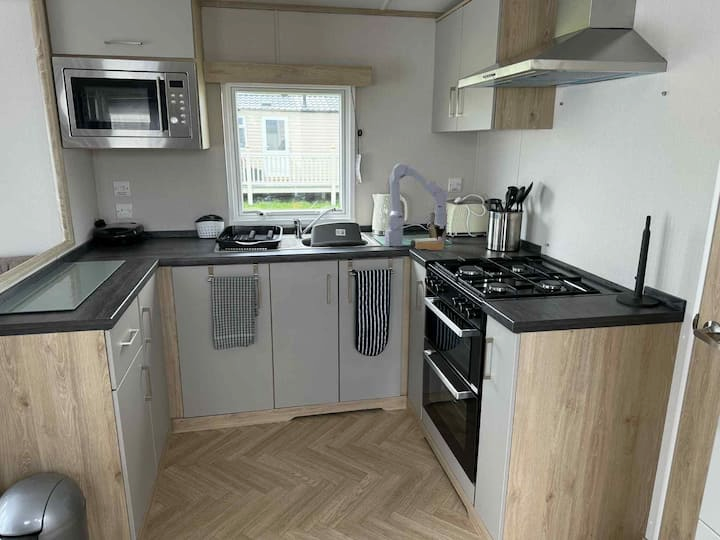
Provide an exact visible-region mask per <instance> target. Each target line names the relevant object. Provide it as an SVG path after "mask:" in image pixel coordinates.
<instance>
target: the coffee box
mask: <svg viewBox="0 0 720 540" xmlns="http://www.w3.org/2000/svg"><path fill="white" fill-rule="evenodd" d="M429 216H430V217H429V233H428V235H429V236H428V238H436V239H437V237H436V231H435V228H434V226H438V225H435V224H434V222H435V212H431V213H430V214H429ZM446 223H448V213H446ZM447 225H448V224H446V225H444V226H445V228H446V229H445V230H444V232H443V236H442V240H441V243H444V244H445V243H447V228H448V227H447Z"/></svg>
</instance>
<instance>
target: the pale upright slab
mask: <svg viewBox="0 0 720 540" xmlns="http://www.w3.org/2000/svg"><path fill="white" fill-rule="evenodd" d="M418 242H438V240H437V239H436V238H429V237H428V238H411V239H410V247H411V248H412V247H413V248H412V249H415V248H416V250H419V249H418Z"/></svg>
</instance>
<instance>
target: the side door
mask: <svg viewBox="0 0 720 540" xmlns="http://www.w3.org/2000/svg"><path fill="white" fill-rule="evenodd" d="M441 240H442V237H438V242H418V249H417V250H421V249H427V250H426V251H428V250H429V251H444V249H445V243H441Z"/></svg>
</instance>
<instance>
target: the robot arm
mask: <svg viewBox="0 0 720 540" xmlns="http://www.w3.org/2000/svg"><path fill="white" fill-rule="evenodd" d="M404 177H412V178H413V179H415V180H416V181H417V182H419V183H420V184H421V185H422V186H423V188H424V191H425V192H427V193H428V194H429V195H430V196H431V197H433V198H434V200H435V206H434V207H435V209H434V213H435V222H434V224H435V225H438V226H434V228H435V231H436V237H437V240H438V237H442V236H443V232H444V230H445V229H446V228H445V226H444V225H446V224H447V225H449V223H448V222H447V223H446V214H447V205H448V203H447V201H448V199H449V194H448V192H447V191H446V190H443V188H442V187H440V186H438V185H437V184H436V183H437V182H435V181H433V180H428V179H427V178H426V177H424V176H423V175H422V174H421V172H420V171H418V169H416V168H415V167H414V166H413V165H411V164H410V163H408V162H402V163H400V162H399V163H397V164H396V165H395V166H394V167H393V168H392V171H391V174H390V176H389V178H388V179H389V192H390V193H389V195H390V210H391V211H390V214H389V220H388V226H389V229H385V232H384V243H383V244H384V245H385V246H387V247H389V246H393V247H405V246H406V244H404V243H403V242H404V241H403V238H404V225H405V218H404V213H403V211H402V204H401V188H400V186H401V185H400V181H402V179H403V178H404Z"/></svg>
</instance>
